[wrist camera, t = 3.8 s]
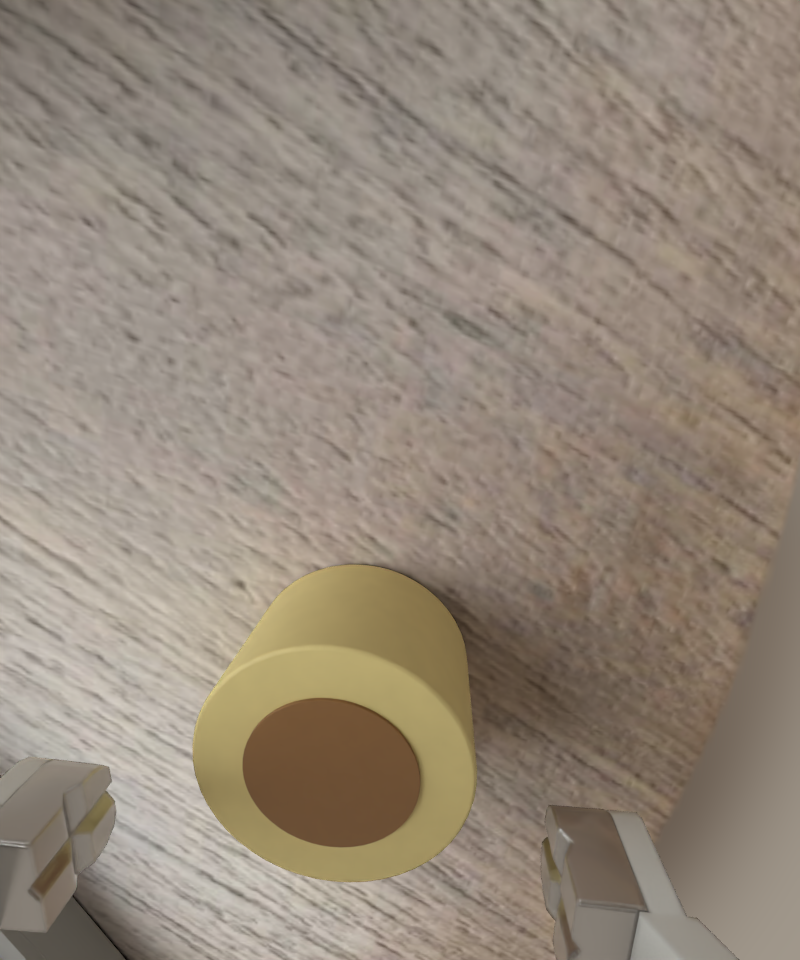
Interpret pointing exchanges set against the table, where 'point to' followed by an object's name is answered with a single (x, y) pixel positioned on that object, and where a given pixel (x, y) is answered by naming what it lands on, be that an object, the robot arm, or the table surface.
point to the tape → (343, 729)
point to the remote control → (60, 940)
